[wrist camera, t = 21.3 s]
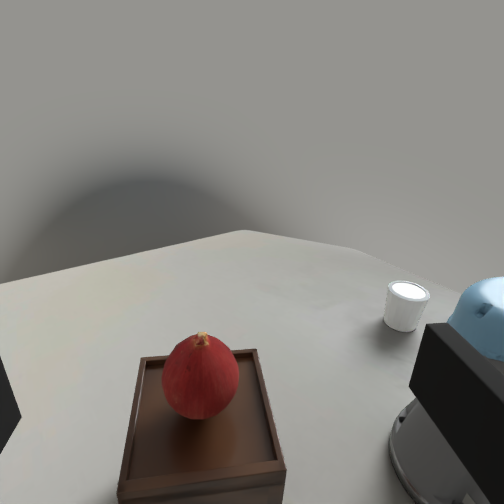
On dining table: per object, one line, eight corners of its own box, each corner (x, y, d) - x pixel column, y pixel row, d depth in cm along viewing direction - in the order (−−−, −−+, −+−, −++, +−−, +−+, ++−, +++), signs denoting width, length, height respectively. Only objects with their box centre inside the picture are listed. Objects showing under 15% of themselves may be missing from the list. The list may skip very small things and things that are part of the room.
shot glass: (408, 339, 58) (419, 305, 55) (372, 320, 63) (380, 287, 60) (426, 324, 63) (437, 291, 60) (391, 307, 67) (400, 276, 64)
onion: (151, 408, 28) (141, 329, 24) (207, 372, 31) (205, 299, 28) (194, 460, 24) (190, 375, 21) (252, 411, 28) (256, 333, 24)
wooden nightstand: (250, 444, 40) (256, 348, 34) (272, 575, 29) (287, 470, 23) (153, 456, 38) (140, 357, 32) (139, 600, 28) (116, 493, 21)
